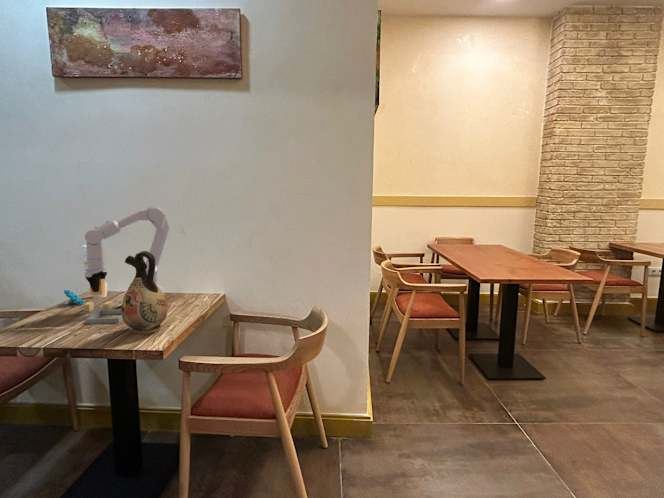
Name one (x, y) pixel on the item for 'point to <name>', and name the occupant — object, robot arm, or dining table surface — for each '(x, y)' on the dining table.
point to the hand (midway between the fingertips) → (97, 290)
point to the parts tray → (94, 319)
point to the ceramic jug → (143, 297)
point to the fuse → (101, 288)
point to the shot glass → (102, 294)
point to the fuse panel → (96, 308)
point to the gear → (73, 298)
